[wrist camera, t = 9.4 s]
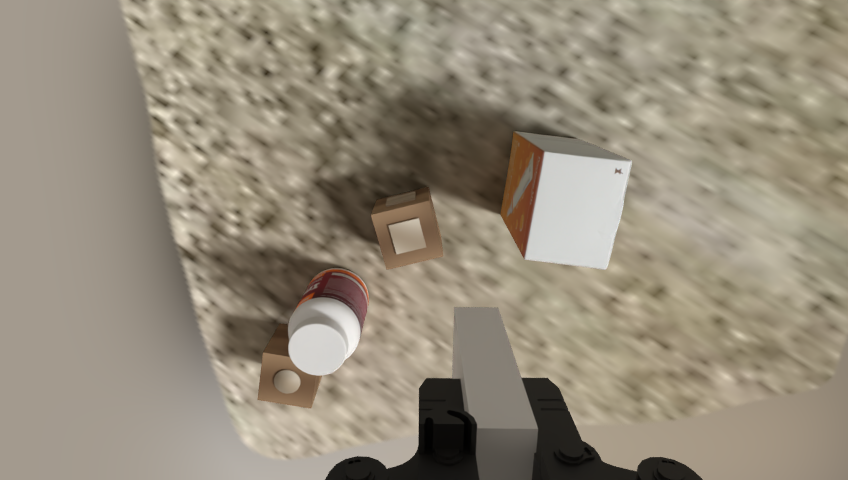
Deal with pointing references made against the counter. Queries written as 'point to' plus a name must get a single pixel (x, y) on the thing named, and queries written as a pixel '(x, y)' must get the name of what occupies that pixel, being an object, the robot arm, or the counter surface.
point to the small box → (564, 199)
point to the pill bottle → (327, 321)
